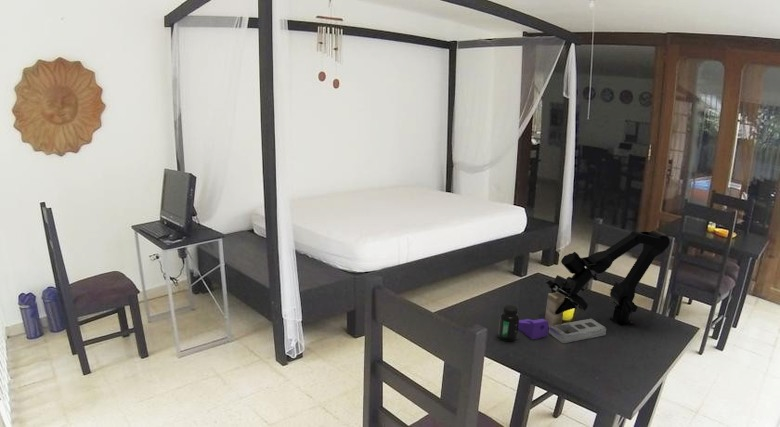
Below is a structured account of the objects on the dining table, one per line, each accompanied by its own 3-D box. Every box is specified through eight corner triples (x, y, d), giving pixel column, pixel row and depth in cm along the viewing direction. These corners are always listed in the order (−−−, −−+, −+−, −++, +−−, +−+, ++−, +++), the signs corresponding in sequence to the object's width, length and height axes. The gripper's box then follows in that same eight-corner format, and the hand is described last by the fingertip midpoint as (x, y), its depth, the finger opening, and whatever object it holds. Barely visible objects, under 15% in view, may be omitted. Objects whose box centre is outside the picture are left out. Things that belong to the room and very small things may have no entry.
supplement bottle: (505, 343, 179) (508, 313, 176) (494, 334, 185) (497, 305, 182) (520, 340, 182) (524, 310, 178) (509, 331, 188) (512, 302, 184)
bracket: (546, 337, 185) (549, 320, 183) (532, 340, 182) (534, 323, 181) (526, 322, 196) (528, 306, 194) (512, 325, 193) (514, 309, 191)
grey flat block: (590, 325, 194) (591, 318, 193) (605, 335, 187) (606, 327, 186) (548, 333, 187) (549, 325, 186) (562, 343, 180) (563, 335, 179)
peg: (553, 322, 195) (557, 292, 192) (561, 327, 191) (565, 296, 188) (544, 323, 194) (548, 293, 190) (551, 329, 190) (555, 298, 186)
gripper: (552, 260, 196) (526, 289, 195) (585, 278, 179) (557, 310, 178) (566, 276, 201) (540, 304, 200) (599, 295, 184) (572, 326, 183)
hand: (551, 310), depth 190 cm, fingers closed on peg, 4 cm apart
